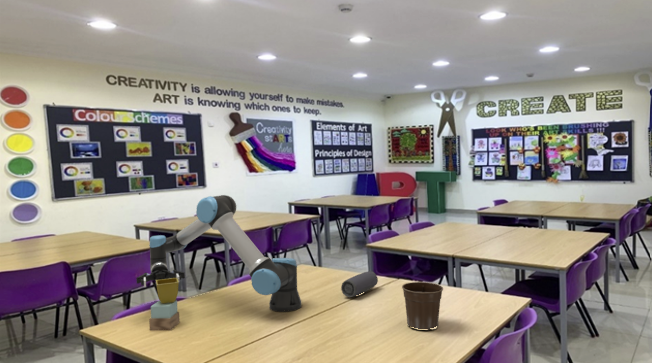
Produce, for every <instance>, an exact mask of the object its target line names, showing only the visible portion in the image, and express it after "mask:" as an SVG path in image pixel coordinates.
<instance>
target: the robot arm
mask: <svg viewBox="0 0 652 363" xmlns="http://www.w3.org/2000/svg"><path fill="white" fill-rule="evenodd" d="M236 212H237V204H236V201H235V200H234V198H232V197H231V196H229V195H226V194H222V195H216V196H214V195H213V196H211V195H210V196H206V197H203V198H201V199H200V200H199V202H198V203H197V205H196V211H195V213H196V216H197V219H196V220H194V221H193V222H191V223H190V224H188V225H187V226H186V227H184V228H183V229H181V230H180V231H178V232H177V233H175V234H174V235H172V236H169V237H166V236H165V235H161V234H160V235H159V234H158V235H152V236H151V237H149V244H148V245H149V256H150V257H149V259H150V260H149V262H150V263H149V267H150V268H149V269H150V273H147V272H144V273H143V274H141V275H139V276H138V277H136V284H137V285H139V284H140V285H141V286H143V287H144V288H147V282H150V281H156V280H162V279H170V278H177V279H178V282H179V283H180V280H182V279H185V276H186V275H185V272H183V271H179V270H176V269H173V270H171V271H170V270H169V268H168V264H167V261H168V260H167V254H168V253H172V252H176V251H181V250H183V249H185V248H186V247H187V246H188V244H190V243H191V242H192V241H194V240H195V239H196V238H198V237H200V236H201V235H203V234H204V233H205V232H207V231H209V230H210V229H212V230H213V231H215V230H216V231H218V232H219V233H220V235H221V236H222V237H223V239H224V240H225V241H226V242H227V243H228V245H229V246H230V247H231V248H232V249H233V251H234V252H235V254H236V255H237V256H238V257H239V259H240V260H241V261H242V262H243V263H244V265H245V266H246V267H247V269H249V273H248V275H249V277H251V279H250V280H251V286H252V289H253V290H254V291H255V292H256V293H257V294H259V295H262V296H269V295H270V300H269V303H268V305H269V310H270V311H273V312H283V313H284V312H292V311H296V310H299V309H300V308H302V299H301V296H300V293H299V291H298V269H297V268H298V265H297V260H296V259H295V258H290V257H277V258H276V257H275V258H272V259H271V257H265V255H264V254H263V253H262V251H260V250H259V249H258V247H257V246H256V244H254V242H253V241H252V240H251V239H250V237H249V236H248V235H247V234H246V233H245V231H244V230H243V229H242V228H241V226H240V225H239V224H238V223H237V221H236V220H235V219H234V215H235V213H236Z"/></svg>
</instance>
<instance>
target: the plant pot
mask: <svg viewBox="0 0 652 363" xmlns="http://www.w3.org/2000/svg"><path fill="white" fill-rule="evenodd" d="M401 289H402V291H403V297H404V301H405V312H406V323H407V324H408V325H409V326H411V327H414V328H418V329H430V328H434V327H436V326H438V327H439V320H440V319H439V317H440V308H441V307H440V306H441V300H442V294H443V291H444V287H443V286H442V285H440V284H438V283H434V282H425V281H412V282H407V283H404V284H403V285H402V286H401ZM408 325H407V326H408Z"/></svg>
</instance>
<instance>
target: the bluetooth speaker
mask: <svg viewBox="0 0 652 363" xmlns="http://www.w3.org/2000/svg"><path fill="white" fill-rule="evenodd" d="M378 282H379V278H378V276H377V274H376V273H375V271H373V270H371V271H364V272H362V273H359V274H356V275H354V276H352V277H350V278H347V279H345V280H344V281H343V282H342V283H341V286H340V287H341V288H340V290H341V292H342V294H343V296H345V297H347V298H352V297H356V295H359V294H361V293H363V292H366V291H367V292H368V291H369V290H371V289H373V288H374V287H375V286H376V285H377V284H378ZM367 292H366V293H367Z"/></svg>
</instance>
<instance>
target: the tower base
mask: <svg viewBox="0 0 652 363" xmlns="http://www.w3.org/2000/svg"><path fill="white" fill-rule="evenodd" d="M180 323H181V322H180V311H178V312H177V313H176V314H174V315H173V316H172V317H171V318H151V317H149V331H172V330H173V329H175V328H176V327H177V326H178V325H179V324H180Z"/></svg>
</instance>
